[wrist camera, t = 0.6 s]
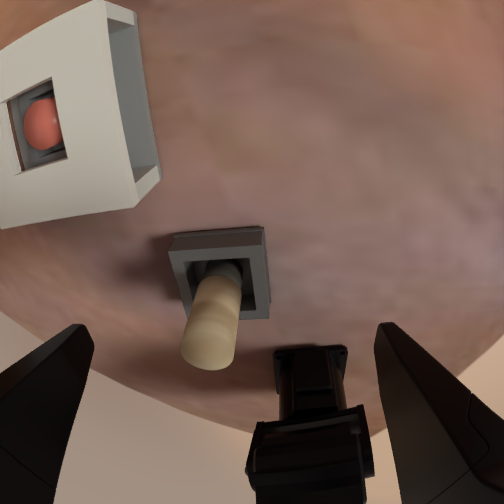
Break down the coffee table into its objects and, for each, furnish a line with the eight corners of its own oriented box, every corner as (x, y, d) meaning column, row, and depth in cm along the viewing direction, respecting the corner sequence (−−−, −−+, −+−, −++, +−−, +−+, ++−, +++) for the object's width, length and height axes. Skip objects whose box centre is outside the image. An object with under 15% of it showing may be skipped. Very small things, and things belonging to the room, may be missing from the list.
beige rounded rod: (246, 286, 23) (237, 370, 16) (208, 288, 23) (187, 369, 16) (241, 252, 21) (228, 334, 15) (200, 255, 21) (173, 334, 15)
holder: (271, 299, 24) (270, 319, 22) (193, 302, 24) (187, 321, 22) (263, 226, 21) (262, 243, 19) (175, 233, 21) (166, 250, 19)
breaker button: (82, 135, 16) (64, 143, 14) (48, 146, 16) (29, 155, 15) (74, 89, 15) (54, 93, 13) (39, 104, 15) (19, 109, 13)
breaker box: (162, 177, 19) (133, 207, 15) (38, 201, 20) (1, 229, 16) (136, 12, 14) (97, -2, 10) (9, 69, 15) (-36, 77, 11)
